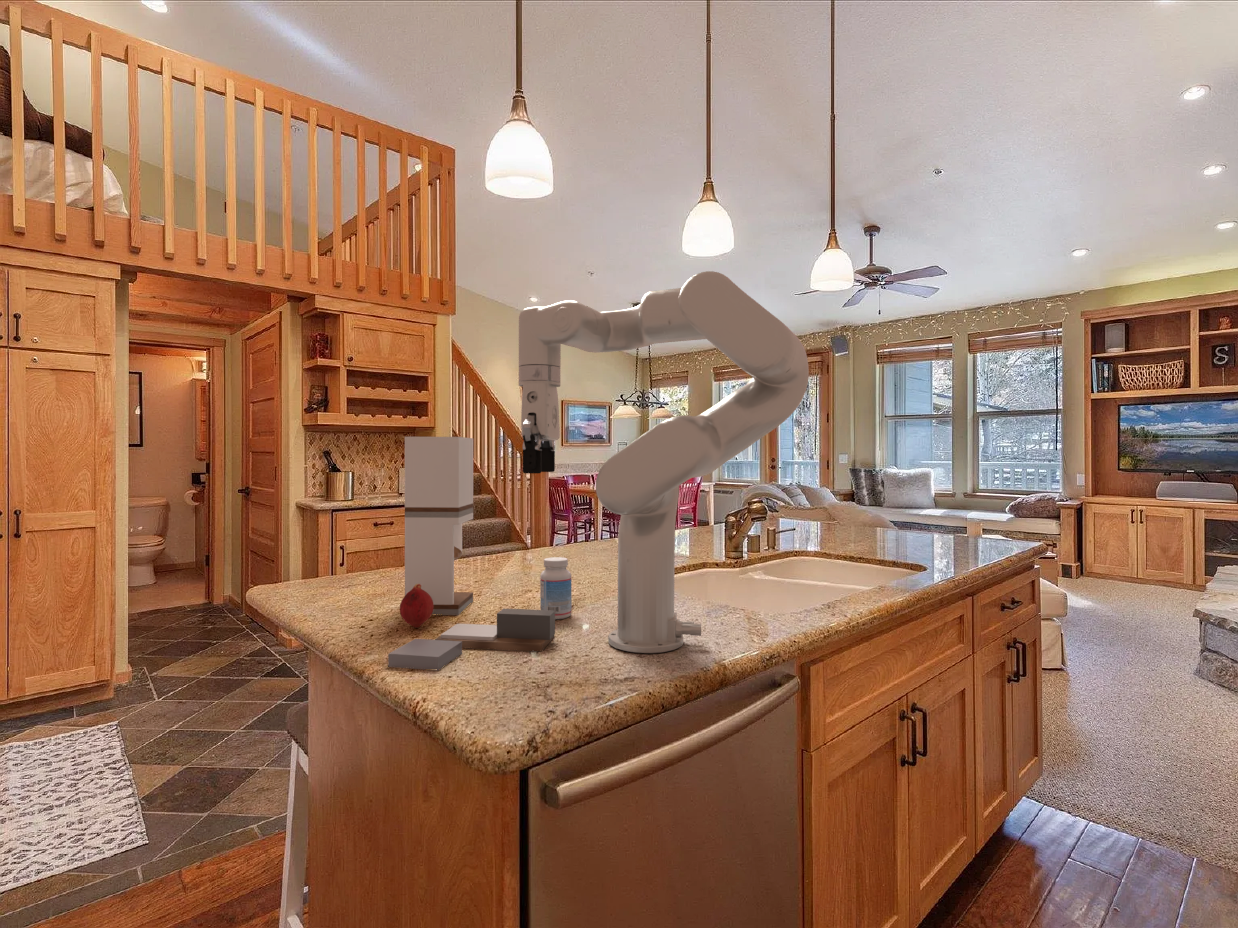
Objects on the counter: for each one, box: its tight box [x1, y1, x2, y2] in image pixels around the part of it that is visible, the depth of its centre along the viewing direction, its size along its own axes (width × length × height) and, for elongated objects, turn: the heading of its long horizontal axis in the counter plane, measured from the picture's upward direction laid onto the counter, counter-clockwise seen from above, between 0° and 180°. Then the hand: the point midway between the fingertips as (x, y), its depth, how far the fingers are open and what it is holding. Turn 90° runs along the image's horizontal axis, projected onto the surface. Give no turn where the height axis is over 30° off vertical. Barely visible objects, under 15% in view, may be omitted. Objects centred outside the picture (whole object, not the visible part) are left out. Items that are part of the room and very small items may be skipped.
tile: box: [387, 638, 463, 671], centre depth 97 cm, size 8×2×8 cm
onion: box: [399, 583, 434, 629], centre depth 115 cm, size 6×6×8 cm
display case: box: [404, 436, 474, 616], centre depth 130 cm, size 11×11×35 cm
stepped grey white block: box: [440, 608, 556, 641], centre depth 106 cm, size 18×7×4 cm, turn 82°
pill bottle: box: [539, 556, 573, 620], centre depth 124 cm, size 6×6×11 cm
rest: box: [434, 635, 555, 653], centre depth 107 cm, size 18×8×1 cm, turn 82°
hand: (539, 472), depth 115 cm, fingers open, 9 cm apart
